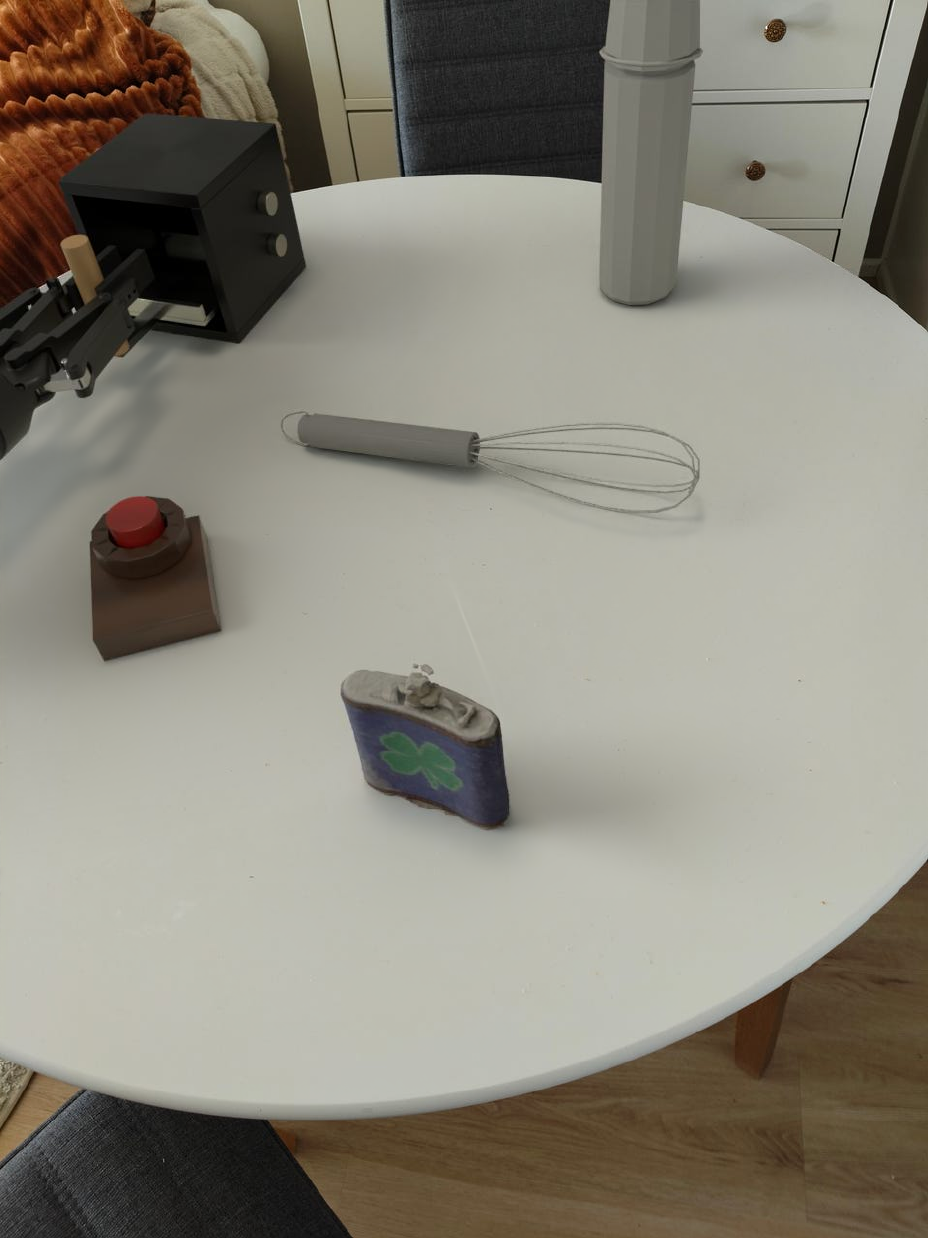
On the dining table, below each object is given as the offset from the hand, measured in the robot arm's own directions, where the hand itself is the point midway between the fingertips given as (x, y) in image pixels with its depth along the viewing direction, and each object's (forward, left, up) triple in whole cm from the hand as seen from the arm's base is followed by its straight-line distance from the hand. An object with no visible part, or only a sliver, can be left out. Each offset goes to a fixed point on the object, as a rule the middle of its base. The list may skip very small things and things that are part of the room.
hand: (131, 262), depth 86 cm
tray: (0, +3, -6) cm, 6 cm away
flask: (+42, -37, -9) cm, 56 cm away
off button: (+15, -25, -5) cm, 30 cm away
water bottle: (+40, +20, -9) cm, 46 cm away
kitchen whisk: (+35, -10, -9) cm, 37 cm away
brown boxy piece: (+17, -28, -8) cm, 34 cm away
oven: (0, +9, -8) cm, 13 cm away
